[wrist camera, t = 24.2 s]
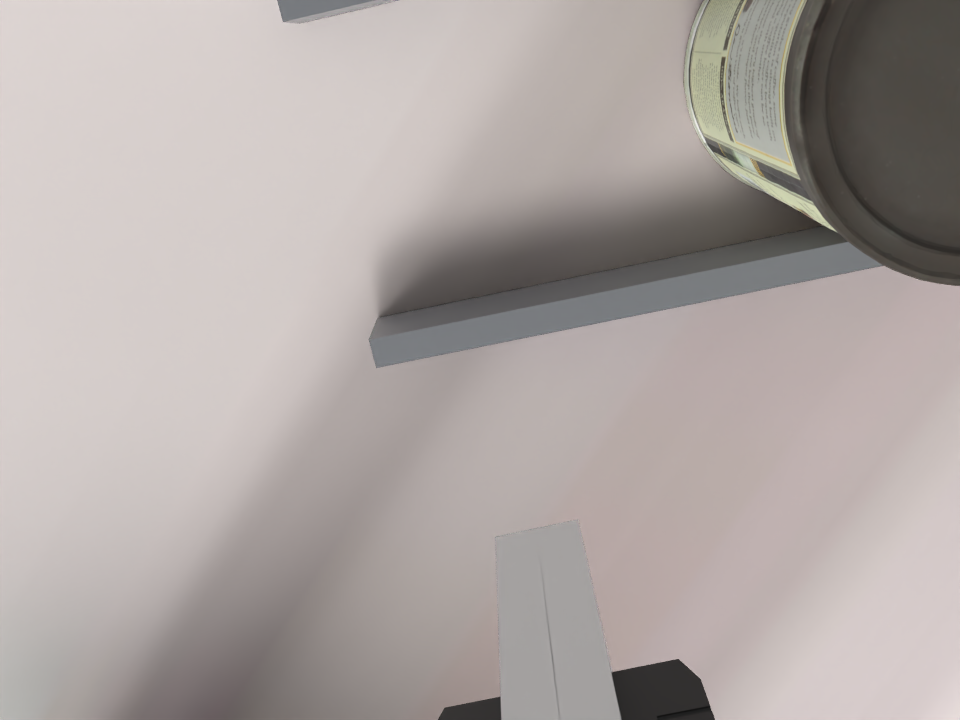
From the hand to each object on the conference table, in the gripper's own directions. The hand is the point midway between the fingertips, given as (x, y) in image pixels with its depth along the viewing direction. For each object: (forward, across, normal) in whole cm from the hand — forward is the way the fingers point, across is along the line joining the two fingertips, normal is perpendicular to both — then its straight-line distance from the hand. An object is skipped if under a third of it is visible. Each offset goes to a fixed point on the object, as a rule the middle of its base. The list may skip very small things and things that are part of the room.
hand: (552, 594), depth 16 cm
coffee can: (+23, +13, +6) cm, 27 cm away
